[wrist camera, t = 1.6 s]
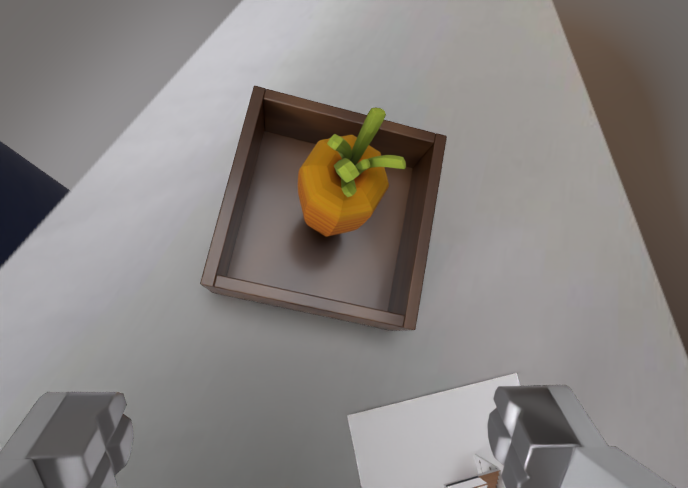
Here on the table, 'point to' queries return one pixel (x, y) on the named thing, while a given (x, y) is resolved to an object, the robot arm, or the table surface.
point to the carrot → (345, 179)
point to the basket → (309, 245)
